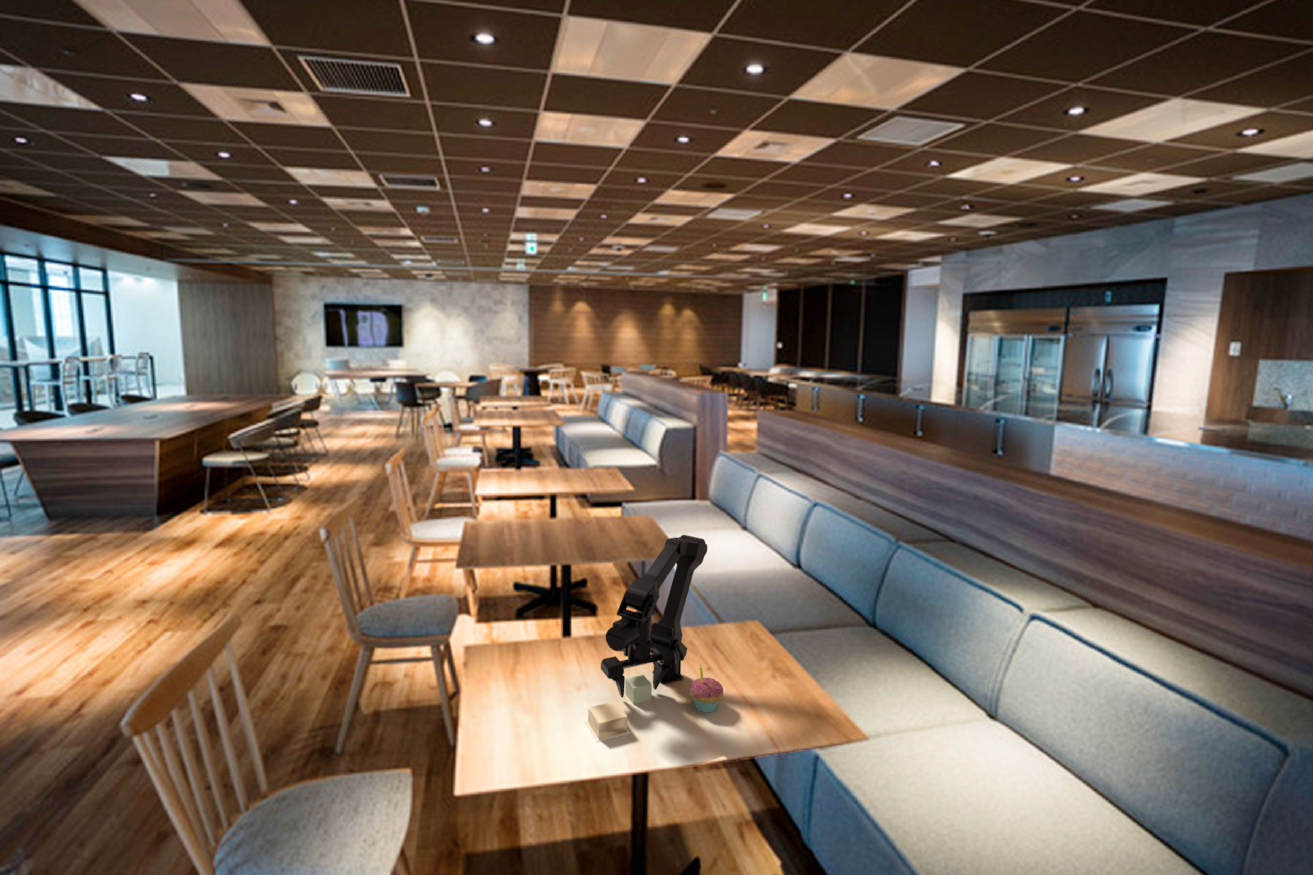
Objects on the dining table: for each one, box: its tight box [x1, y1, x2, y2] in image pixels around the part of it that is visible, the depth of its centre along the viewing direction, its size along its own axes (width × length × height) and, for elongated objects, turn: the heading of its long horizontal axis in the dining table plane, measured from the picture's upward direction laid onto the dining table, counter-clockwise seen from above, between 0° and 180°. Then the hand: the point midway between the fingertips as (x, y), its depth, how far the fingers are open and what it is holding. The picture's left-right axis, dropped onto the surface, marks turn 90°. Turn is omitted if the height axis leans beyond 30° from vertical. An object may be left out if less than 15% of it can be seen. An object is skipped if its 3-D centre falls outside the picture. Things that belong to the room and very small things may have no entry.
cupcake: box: [688, 663, 724, 713], centre depth 165 cm, size 9×8×12 cm
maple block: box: [587, 700, 628, 739], centre depth 155 cm, size 7×7×4 cm
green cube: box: [624, 674, 653, 705], centre depth 169 cm, size 5×5×5 cm
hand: (638, 692), depth 169 cm, fingers open, 9 cm apart
